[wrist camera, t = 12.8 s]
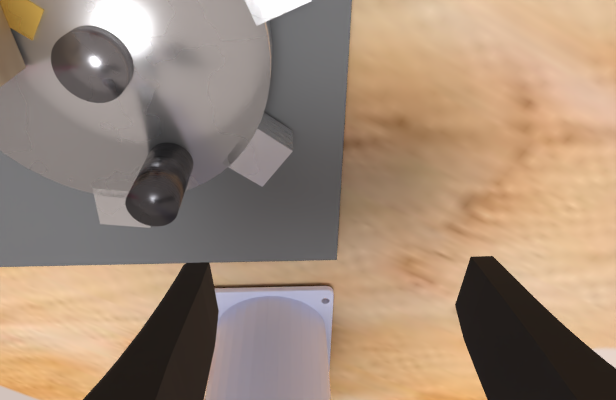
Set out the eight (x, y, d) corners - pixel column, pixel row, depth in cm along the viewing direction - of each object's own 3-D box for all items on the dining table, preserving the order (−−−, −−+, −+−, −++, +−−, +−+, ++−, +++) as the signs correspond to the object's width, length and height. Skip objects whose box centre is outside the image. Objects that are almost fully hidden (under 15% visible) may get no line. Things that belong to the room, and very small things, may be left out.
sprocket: (388, 14, 16) (418, 57, 12) (200, 243, 23) (182, 317, 19) (-100, -417, 10) (-338, -596, 6) (-161, 69, 16) (-294, 126, 13)
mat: (335, 247, 25) (336, 259, 24) (-89, 256, 24) (-102, 269, 23) (361, -245, 13) (366, -253, 12) (-485, -252, 12) (-539, -261, 11)
